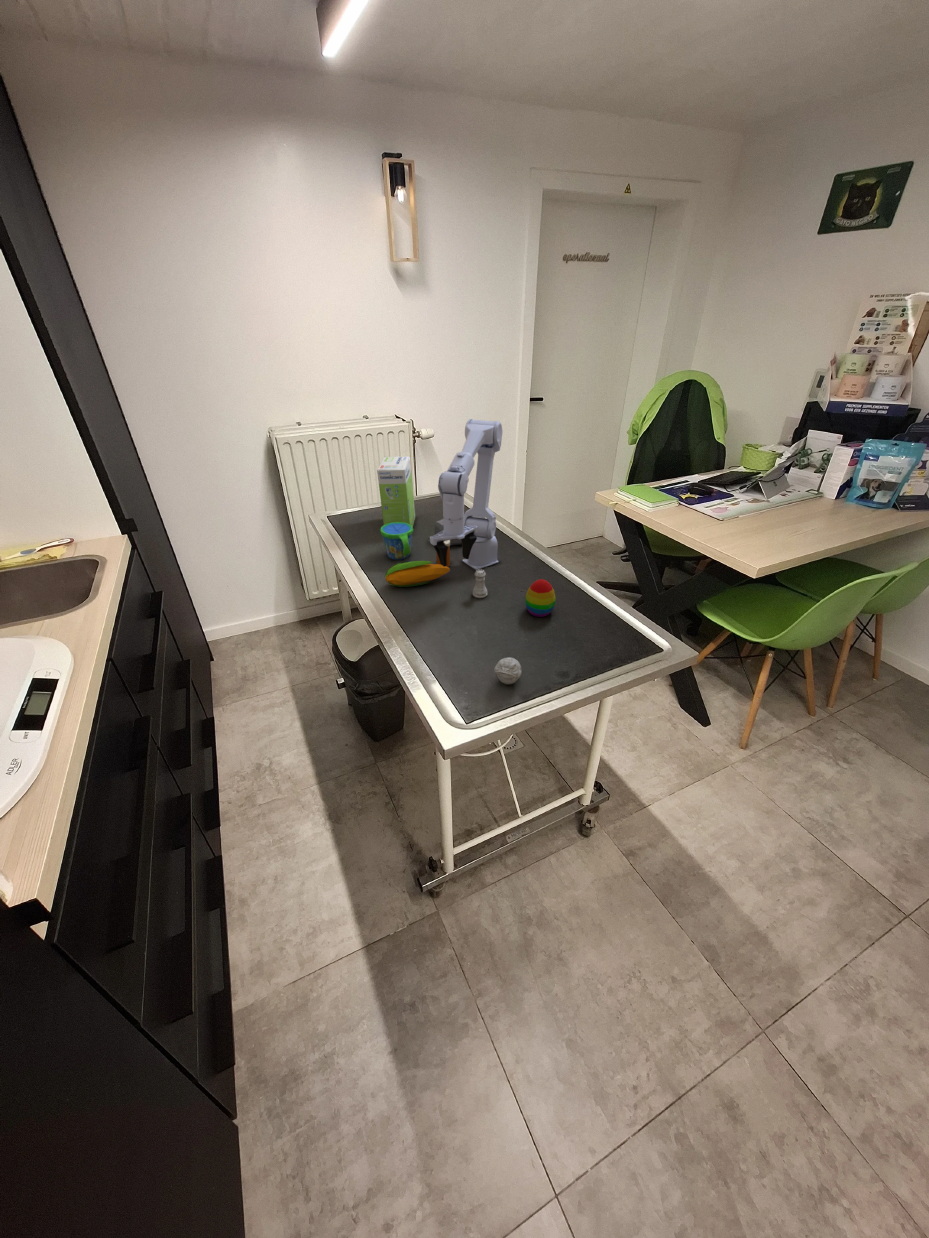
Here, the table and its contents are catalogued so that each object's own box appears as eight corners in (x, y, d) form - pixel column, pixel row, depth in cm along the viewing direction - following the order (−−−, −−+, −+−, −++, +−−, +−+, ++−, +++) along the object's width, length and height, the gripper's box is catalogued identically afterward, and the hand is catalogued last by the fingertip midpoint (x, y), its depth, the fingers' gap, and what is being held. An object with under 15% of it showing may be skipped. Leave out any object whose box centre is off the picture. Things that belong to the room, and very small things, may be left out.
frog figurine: (490, 688, 109) (490, 664, 105) (499, 670, 114) (500, 646, 110) (516, 695, 107) (517, 670, 103) (524, 676, 112) (526, 652, 108)
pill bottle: (445, 559, 163) (444, 536, 158) (453, 564, 159) (453, 542, 155) (433, 563, 160) (432, 540, 156) (441, 568, 157) (440, 545, 152)
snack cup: (421, 562, 161) (419, 534, 155) (390, 568, 157) (387, 539, 152) (407, 544, 173) (404, 517, 167) (378, 549, 169) (374, 522, 164)
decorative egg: (558, 618, 132) (561, 586, 127) (529, 621, 131) (531, 589, 126) (548, 602, 139) (552, 572, 134) (521, 605, 138) (523, 574, 132)
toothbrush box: (390, 517, 194) (384, 455, 181) (415, 517, 194) (411, 455, 181) (383, 535, 180) (376, 469, 166) (411, 535, 180) (406, 469, 166)
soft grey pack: (450, 550, 168) (498, 537, 177) (450, 528, 164) (498, 516, 172) (430, 535, 179) (475, 524, 188) (429, 514, 174) (476, 503, 183)
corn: (381, 559, 146) (446, 551, 150) (384, 581, 150) (446, 571, 155) (385, 572, 140) (452, 562, 145) (388, 594, 145) (452, 584, 149)
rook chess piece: (482, 600, 140) (483, 576, 136) (469, 596, 142) (469, 572, 138) (490, 593, 144) (490, 569, 139) (477, 589, 146) (477, 566, 141)
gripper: (438, 527, 125) (440, 573, 133) (484, 515, 132) (483, 560, 139) (424, 518, 130) (427, 564, 137) (469, 507, 137) (469, 551, 144)
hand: (454, 561), depth 139 cm, fingers open, 7 cm apart
